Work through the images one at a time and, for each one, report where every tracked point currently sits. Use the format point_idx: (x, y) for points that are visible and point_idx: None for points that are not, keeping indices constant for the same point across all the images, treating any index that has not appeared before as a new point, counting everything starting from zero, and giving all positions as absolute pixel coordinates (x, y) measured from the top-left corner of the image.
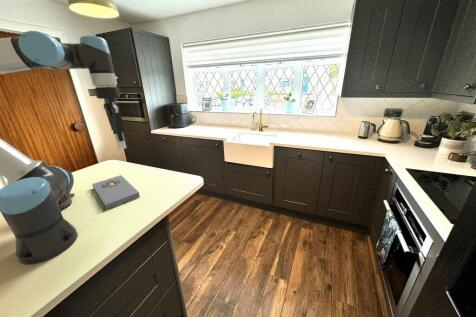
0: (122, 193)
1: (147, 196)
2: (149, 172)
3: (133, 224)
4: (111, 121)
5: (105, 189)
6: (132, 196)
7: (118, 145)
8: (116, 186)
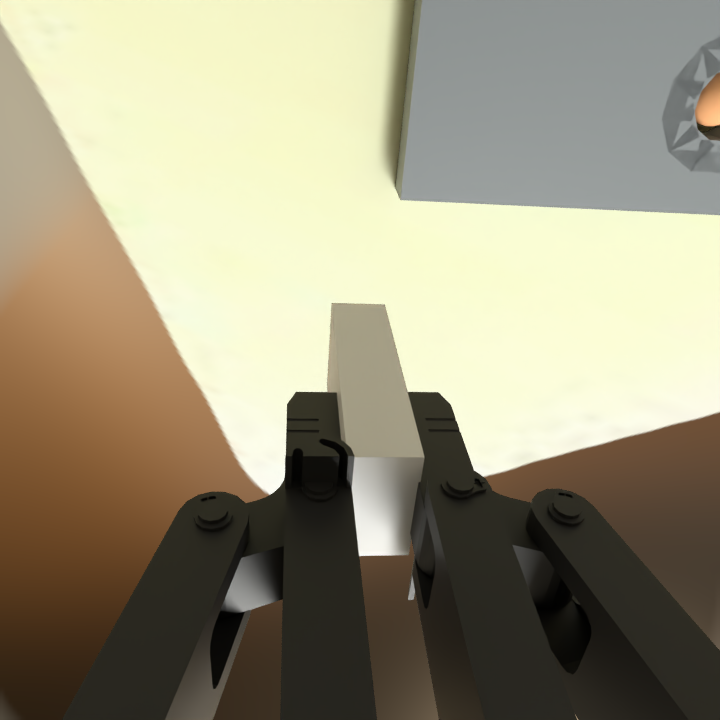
0: (488, 108)
1: (355, 223)
2: (667, 373)
3: (81, 10)
4: (476, 696)
5: (683, 35)
6: (403, 147)
7: (335, 335)
8: (645, 119)
